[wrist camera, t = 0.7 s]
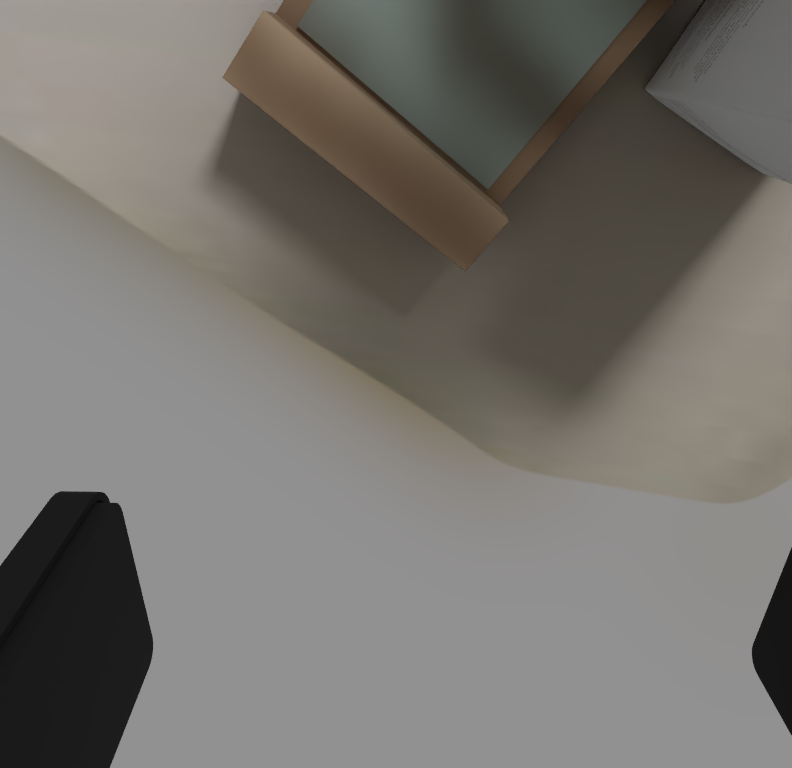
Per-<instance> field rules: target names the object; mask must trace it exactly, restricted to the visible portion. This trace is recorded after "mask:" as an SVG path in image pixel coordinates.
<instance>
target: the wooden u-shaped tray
mask: <svg viewBox="0 0 792 768" xmlns="http://www.w3.org/2000/svg"><path fill="white" fill-rule="evenodd" d="M675 1H676V0H284V1H283V3H282V4H281V6H280V8H279V9H278V11H277V12H276V14H275V13H271V12H267V11H263V12H262V13H261V15H260V17H259V18H258V20H257V22H256V23H255V25H254V27H253V28H252V30H251V31H250V33H249V35H248V36H247V38H246V40H245V41H244V43H243V45H242V46H241V48H240V50H239V51H238V53H237V55H236V56H235V58H234V59H233V61H232V63H231V64H230V66H229V68H228V69H227V71H226V73H225V74H224V76H223V79H225V80H226V81H227V82H228V83H230V84H231V85H232V86H233V87H235V88H236V89H237V90H238V91H240V92H241V93H242V94H243V95H245V96H246V97H247V98H248V99H250V100H251V101H252V102H253V103H255V104H256V105H257V106H258V107H260V108H261V109H262V110H263V111H265V112H266V113H267V114H268V115H270V116H271V117H272V118H273V119H275V120H276V121H277V122H279V123H280V124H281V125H282V126H284V127H285V128H286V129H287V130H289V131H290V132H291V133H292V134H294V135H295V136H296V137H297V138H299V139H300V140H301V141H302V142H304V143H305V144H306V145H307V146H309V147H310V148H311V149H312V150H314V151H315V152H316V153H317V154H319V155H320V156H321V157H322V158H324V159H325V160H326V161H327V162H329V163H330V164H331V165H332V166H334V167H335V168H336V169H337V170H339V171H340V172H341V173H342V174H344V175H345V176H346V177H347V178H349V179H350V180H351V181H352V182H354V183H355V184H356V185H357V186H359V187H360V188H361V189H362V190H364V191H365V192H366V193H367V194H369V195H370V196H371V197H372V198H374V199H375V200H376V201H377V202H379V203H380V204H381V205H382V206H384V207H385V208H386V209H387V210H389V211H390V212H391V213H392V214H394V215H395V216H396V217H397V218H399V219H400V220H401V221H403V222H404V223H405V224H406V225H408V226H409V227H410V228H411V229H413V230H414V231H415V232H416V233H418V234H419V235H420V236H421V237H423V238H424V239H425V240H426V241H428V242H429V243H430V244H431V245H433V246H434V247H435V248H436V249H438V250H439V251H440V252H441V253H443V254H444V255H445V256H446V257H448V258H449V259H450V260H451V261H453V262H454V263H455V264H456V265H458V266H459V267H460V268H461V269H463V270H464V271H466V270H467V269H468V267H469V266H470V265H471V264H472V263H473V262H474V261H475V259H476V258H477V257H478V256H479V255H480V254H481V253H482V251H483V250H484V249H485V248H486V247H487V246H488V245H489V243H490V242H491V241H492V240H493V239H494V238H495V237H496V235H497V234H498V233H499V232H500V231H501V230H502V229H503V227H504V226H505V225H506V224H507V223H508V222H509V219H508V217H507V216H506V214H505V213H504V211H503V209H502V208H501V206H500V205H501V203H502V202H503V201H504V200H505V199H506V198H507V196H508V195H509V194H510V193H511V192H512V191H513V189H514V188H515V187H516V186H517V185H518V184H519V182H520V181H521V180H522V179H523V178H524V177H525V175H526V174H527V173H528V172H529V171H530V170H531V168H532V167H533V166H534V165H535V164H536V163H537V161H538V160H539V159H540V158H541V157H542V156H543V154H544V153H545V152H546V151H547V150H548V149H549V147H550V146H551V145H552V144H553V143H554V142H555V140H556V139H557V138H558V137H559V136H560V135H561V133H562V132H563V131H564V130H565V129H566V128H567V126H568V125H569V124H570V123H571V122H572V121H573V119H574V118H575V117H576V116H577V115H578V114H579V112H580V111H581V110H582V109H583V108H584V107H585V105H586V104H587V103H588V102H589V101H590V100H591V98H592V97H593V96H594V95H595V94H596V93H597V91H598V90H599V89H600V88H601V87H602V86H603V84H604V83H605V82H606V81H607V80H608V79H609V77H610V76H611V75H612V74H613V73H614V72H615V70H616V69H617V68H618V67H619V66H620V65H621V63H622V62H623V61H624V60H625V59H626V58H627V56H628V55H629V54H630V53H631V52H632V51H633V49H634V48H635V47H636V46H637V45H638V44H639V42H640V41H641V40H642V39H643V38H644V37H645V35H646V34H647V33H648V32H649V31H650V30H651V28H652V27H653V26H654V25H655V24H656V23H657V21H658V20H659V19H660V18H661V17H662V16H663V14H664V13H665V12H666V11H667V10H668V9H669V7H670V6H671V5H672V4H673V3H674V2H675Z"/></svg>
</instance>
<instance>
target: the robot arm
mask: <svg viewBox="0 0 792 768" xmlns="http://www.w3.org/2000/svg"><path fill="white" fill-rule="evenodd" d="M152 652H153V638H152V634H151V629H150V625H149V621H148V617H147V612H146V608H145V604H144V600H143V596H142V592H141V587H140V583H139V579H138V575H137V571H136V567H135V563H134V558H133V554H132V550H131V546H130V541H129V537H128V533H127V529H126V525H125V521H124V516H123V512H122V509H121V507H120V505H119V504H117V503H110V501H109V499H108V497H107V496H106V494H105V493H102V492H63V491H62V492H58V493H56V494H55V495H54V496H53V497H52V498H51V499H50V500H49V502H48V503H47V504H46V505H45V507H44V508H43V510H42V511H41V512H40V514H39V515H38V516H37V517H36V519H35V520H34V522H33V523H32V525H31V526H30V527H29V528H28V530H27V531H26V532H25V534H24V535H23V536H22V538H21V539H20V541H19V542H18V543H17V544H16V546H15V547H14V548H13V550H12V551H11V552H10V554H9V555H8V556H7V558H6V559H5V560H4V562H3V563H2V564H1V566H0V768H110V765H111V763H112V760H113V758H114V755H115V753H116V750H117V748H118V745H119V742H120V740H121V737H122V735H123V732H124V729H125V727H126V725H127V722H128V720H129V717H130V714H131V712H132V709H133V707H134V704H135V702H136V699H137V697H138V694H139V692H140V689H141V687H142V684H143V681H144V679H145V676H146V674H147V671H148V669H149V666H150V663H151V658H152ZM752 659H753V664H754V667H755V670H756V672H757V674H758V676H759V678H760V680H761V681H762V683H763V685H764V687H765V689H766V691H767V692H768V694H769V696H770V698H771V699H772V701H773V703H774V705H775V706H776V708H777V710H778V712H779V714H780V715H781V717H782V719H783V721H784V722H785V724H786V726H787V728H788V730H789V732H790V733H791V735H792V548H791V551H790V553H789V556H788V558H787V561H786V563H785V566H784V568H783V571H782V573H781V576H780V578H779V581H778V583H777V586H776V589H775V591H774V593H773V596H772V598H771V601H770V603H769V606H768V608H767V611H766V613H765V616H764V618H763V621H762V623H761V626H760V628H759V631H758V633H757V636H756V639H755V641H754V643H753V647H752Z"/></svg>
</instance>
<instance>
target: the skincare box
mask: <svg viewBox="0 0 792 768" xmlns="http://www.w3.org/2000/svg"><path fill="white" fill-rule="evenodd" d="M645 90H646V91H647V92H648V93H649V94H651V95H652V96H653V97H654V98H655V99H657V100H658V101H660V102H661V103H662V104H664V105H665V106H666V107H668V108H669V109H670V110H672V111H673V112H675V113H676V114H677V115H679V116H680V117H682V118H683V119H684V120H686V121H687V122H689V123H690V124H691V125H693V126H694V127H696V128H697V129H698V130H700V131H701V132H703V133H704V134H705V135H707V136H708V137H710V138H711V139H712V140H714V141H715V142H717V143H718V144H720V145H721V146H722V147H724V148H725V149H727V150H728V151H730V152H731V153H732V154H734V155H735V156H737V157H738V158H740V159H741V160H743V161H744V162H745V163H747V164H748V165H750V166H752V167H753V168H755V169H756V170H758V171H760V172H761V173H763V174H765V175H769V176H772V177H775V178H778V179H780V180H783V181H786V182H788V183H791V184H792V0H706V1H705V2H704V4H703V5H702V6H701V8H700V9H699V11H698V12H697V14H696V15H695V17H694V18H693V19H692V21H691V22H690V24H689V25H688V27H687V28H686V30H685V31H684V32H683V34H682V35H681V37H680V38H679V40H678V41H677V43H676V44H675V46H674V47H673V49H672V50H671V51H670V53H669V54H668V56H667V57H666V59H665V60H664V62H663V63H662V65H661V66H660V67H659V69H658V70H657V72H656V73H655V75H654V76H653V77H652V79H651V80H650V81H649V83H648V84H647V85H646V87H645Z"/></svg>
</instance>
